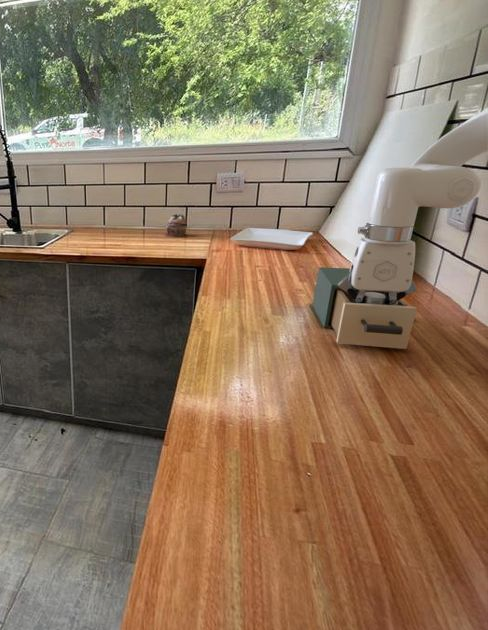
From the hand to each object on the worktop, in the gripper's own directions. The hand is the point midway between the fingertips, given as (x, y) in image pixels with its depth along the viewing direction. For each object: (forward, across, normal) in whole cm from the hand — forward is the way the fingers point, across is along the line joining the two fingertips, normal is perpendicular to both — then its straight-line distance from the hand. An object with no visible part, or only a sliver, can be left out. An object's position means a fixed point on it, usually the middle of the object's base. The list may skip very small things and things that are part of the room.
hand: (369, 318), depth 95 cm
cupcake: (+5, -50, +110) cm, 121 cm away
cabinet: (+5, 0, +14) cm, 15 cm away
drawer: (+4, 0, 0) cm, 4 cm away
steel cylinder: (+1, 0, 0) cm, 1 cm away
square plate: (+5, -10, +98) cm, 99 cm away
